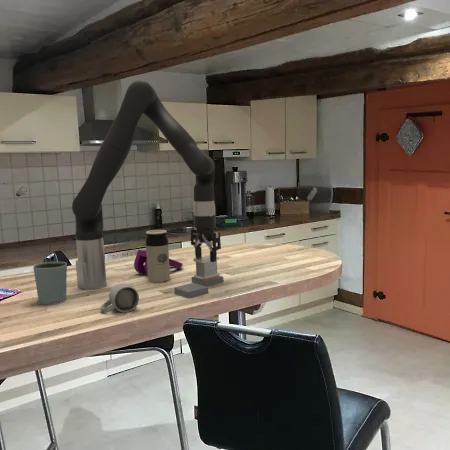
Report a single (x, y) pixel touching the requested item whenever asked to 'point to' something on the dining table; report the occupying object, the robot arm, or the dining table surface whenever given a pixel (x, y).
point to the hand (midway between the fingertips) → (205, 259)
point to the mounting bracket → (142, 259)
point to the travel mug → (157, 256)
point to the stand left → (191, 290)
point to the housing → (205, 268)
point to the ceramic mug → (121, 299)
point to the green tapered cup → (51, 282)
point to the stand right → (208, 280)
